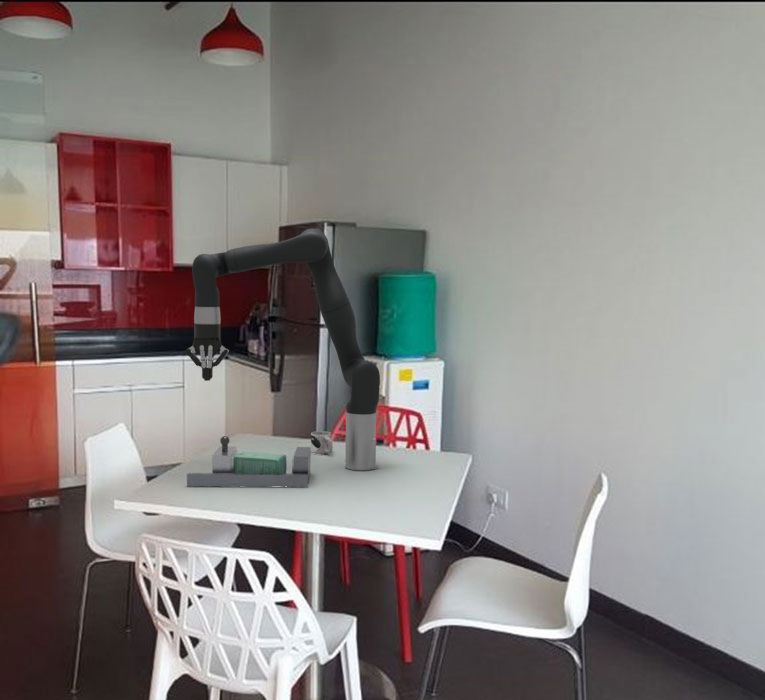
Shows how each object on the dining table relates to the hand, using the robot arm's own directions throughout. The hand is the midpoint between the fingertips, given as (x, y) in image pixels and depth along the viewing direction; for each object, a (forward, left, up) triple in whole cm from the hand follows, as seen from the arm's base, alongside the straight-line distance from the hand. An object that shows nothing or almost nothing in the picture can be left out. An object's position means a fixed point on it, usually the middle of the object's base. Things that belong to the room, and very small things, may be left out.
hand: (207, 380), depth 217 cm
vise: (-15, +11, -27) cm, 33 cm away
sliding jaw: (-7, +10, -27) cm, 30 cm away
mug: (-34, -22, -27) cm, 49 cm away
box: (-17, +11, -27) cm, 34 cm away
